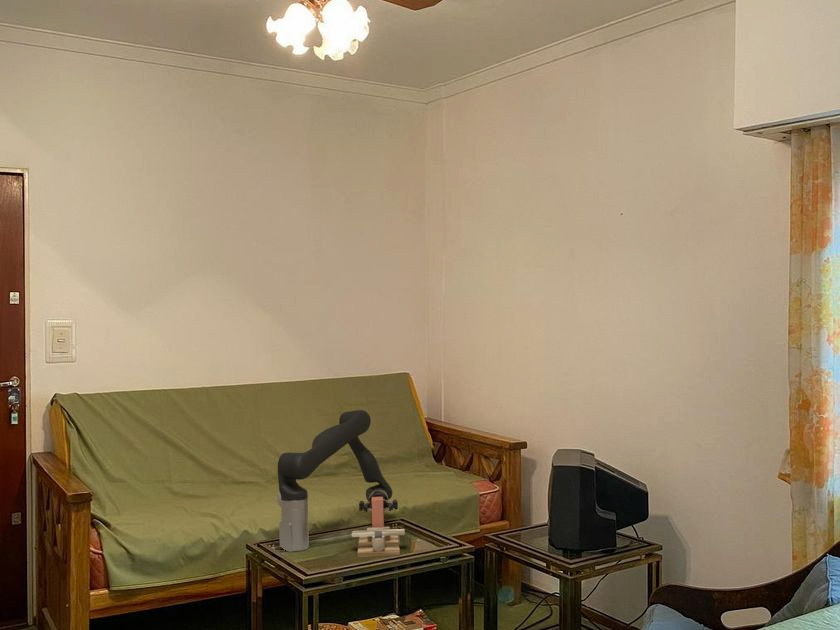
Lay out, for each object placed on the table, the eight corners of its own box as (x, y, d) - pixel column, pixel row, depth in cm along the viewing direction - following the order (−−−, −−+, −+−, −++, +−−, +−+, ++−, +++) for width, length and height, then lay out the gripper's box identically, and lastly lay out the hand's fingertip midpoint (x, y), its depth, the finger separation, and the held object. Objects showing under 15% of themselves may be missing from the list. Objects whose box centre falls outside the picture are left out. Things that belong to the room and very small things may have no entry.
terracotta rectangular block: (384, 539, 300) (382, 500, 300) (372, 540, 300) (371, 500, 300) (384, 535, 307) (382, 496, 307) (372, 536, 307) (371, 497, 307)
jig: (405, 555, 282) (405, 534, 282) (351, 557, 281) (350, 536, 281) (403, 536, 310) (403, 517, 310) (354, 538, 309) (353, 519, 309)
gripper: (359, 491, 323) (358, 499, 307) (397, 490, 324) (397, 497, 308) (360, 511, 323) (358, 520, 307) (397, 509, 324) (398, 518, 307)
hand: (378, 508), depth 307 cm, fingers open, 8 cm apart
